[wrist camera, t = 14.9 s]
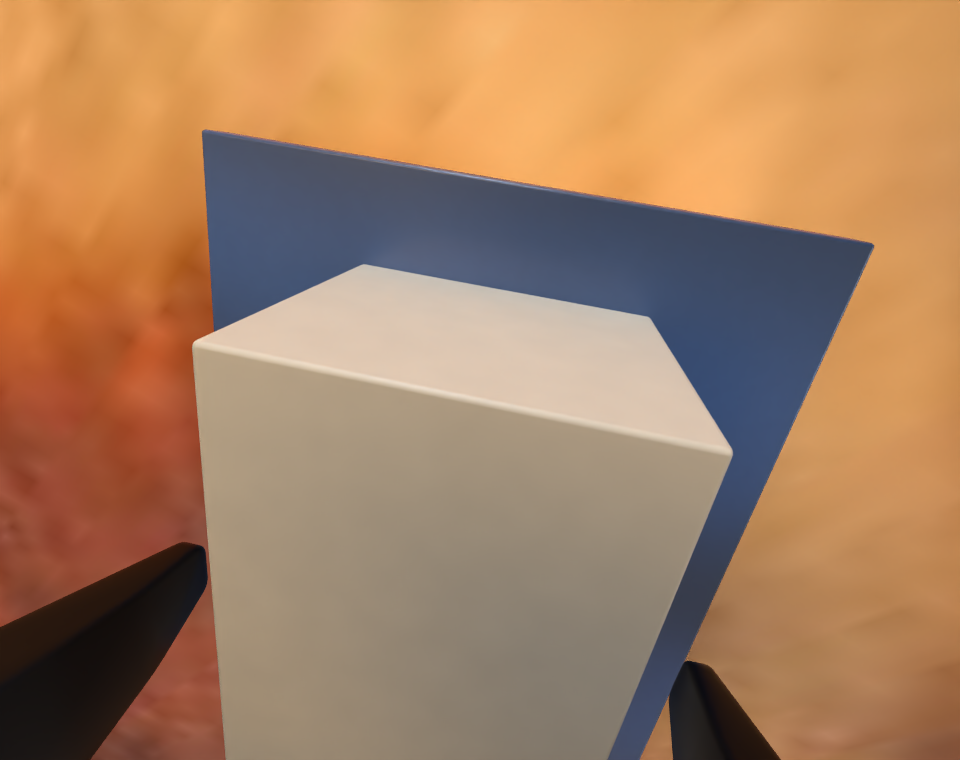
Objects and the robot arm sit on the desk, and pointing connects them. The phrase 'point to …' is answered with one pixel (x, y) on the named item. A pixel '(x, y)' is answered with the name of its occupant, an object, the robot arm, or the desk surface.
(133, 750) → the desk surface
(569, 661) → the case
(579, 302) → the blue lid
